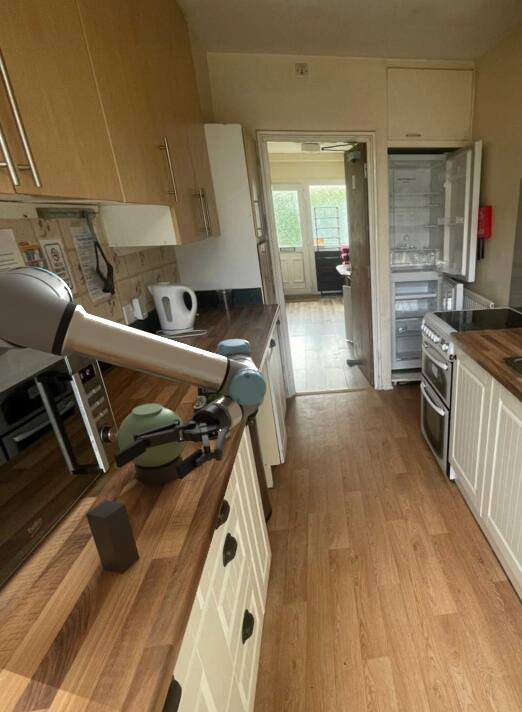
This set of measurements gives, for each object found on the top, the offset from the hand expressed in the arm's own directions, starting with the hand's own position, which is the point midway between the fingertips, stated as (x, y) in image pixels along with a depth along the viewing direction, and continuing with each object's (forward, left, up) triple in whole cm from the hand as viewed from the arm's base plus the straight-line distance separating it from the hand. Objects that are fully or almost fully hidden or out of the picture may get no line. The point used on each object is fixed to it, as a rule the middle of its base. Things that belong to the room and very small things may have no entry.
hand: (147, 467), depth 79 cm
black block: (0, -10, -14) cm, 17 cm away
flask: (-18, +38, -14) cm, 45 cm away
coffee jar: (-22, +49, -14) cm, 56 cm away
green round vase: (-14, +16, -14) cm, 26 cm away
